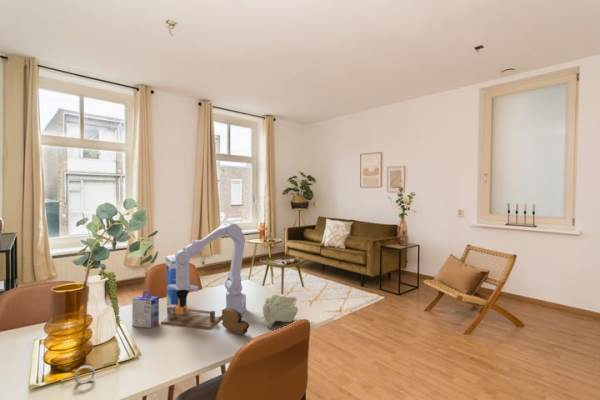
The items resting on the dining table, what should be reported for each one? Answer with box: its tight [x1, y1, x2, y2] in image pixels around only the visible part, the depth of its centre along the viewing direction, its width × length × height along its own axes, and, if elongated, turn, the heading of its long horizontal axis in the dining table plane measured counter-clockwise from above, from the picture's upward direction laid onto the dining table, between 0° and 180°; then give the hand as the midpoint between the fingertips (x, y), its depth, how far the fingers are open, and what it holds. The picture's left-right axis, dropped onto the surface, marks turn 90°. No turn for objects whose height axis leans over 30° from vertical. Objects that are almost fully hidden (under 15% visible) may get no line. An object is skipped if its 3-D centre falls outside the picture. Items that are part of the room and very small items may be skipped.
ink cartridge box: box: [131, 290, 160, 329], centre depth 134 cm, size 10×6×14 cm, turn 78°
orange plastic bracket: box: [175, 299, 187, 314], centre depth 139 cm, size 4×3×7 cm
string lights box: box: [165, 254, 188, 309], centre depth 155 cm, size 13×8×26 cm, turn 34°
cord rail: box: [160, 304, 221, 330], centre depth 138 cm, size 24×10×6 cm, turn 79°
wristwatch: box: [74, 364, 96, 385], centre depth 95 cm, size 3×5×5 cm, turn 115°
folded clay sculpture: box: [262, 294, 299, 329], centre depth 137 cm, size 18×13×16 cm
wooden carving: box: [218, 307, 250, 336], centre depth 128 cm, size 16×5×10 cm, turn 59°
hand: (183, 305), depth 138 cm, fingers closed
